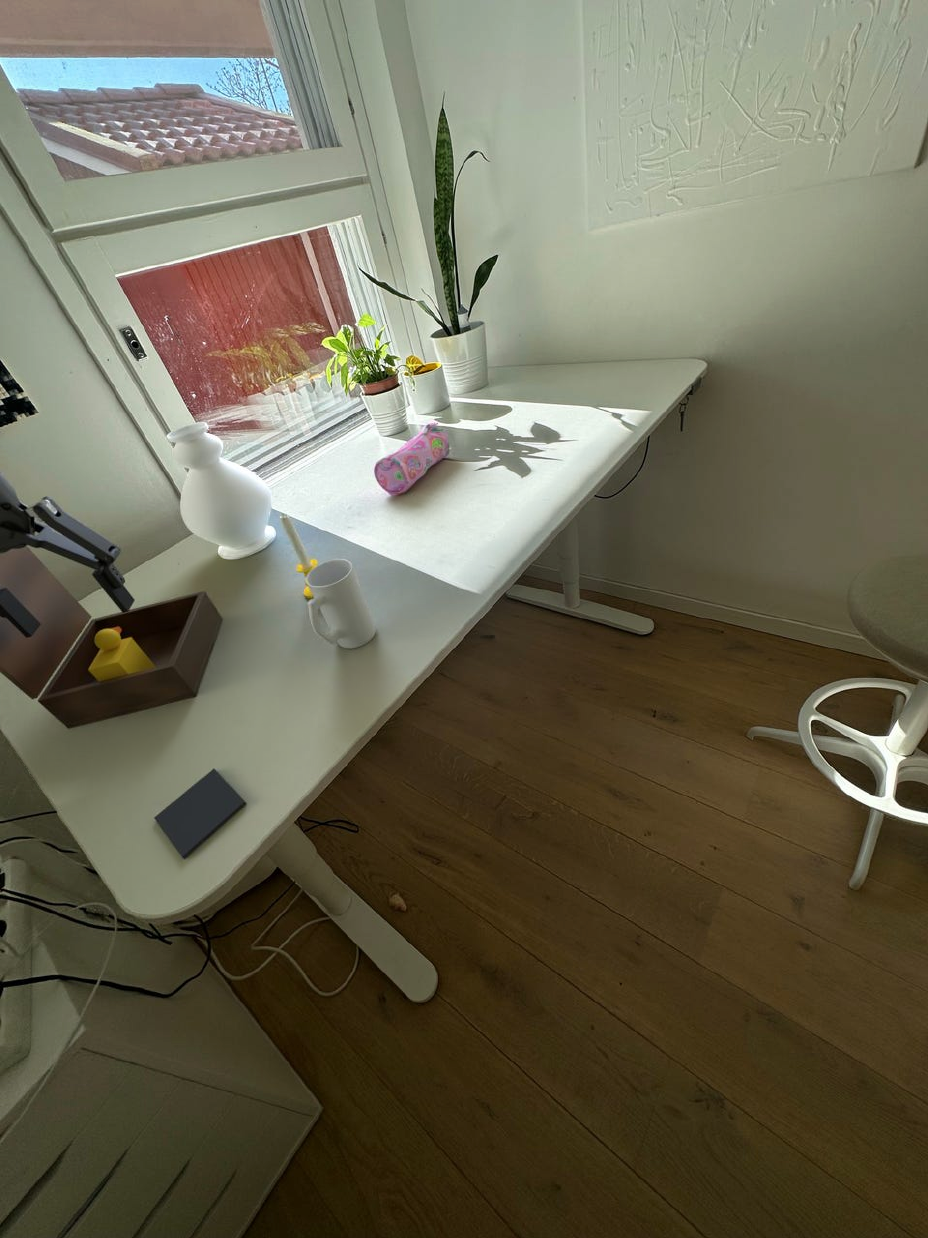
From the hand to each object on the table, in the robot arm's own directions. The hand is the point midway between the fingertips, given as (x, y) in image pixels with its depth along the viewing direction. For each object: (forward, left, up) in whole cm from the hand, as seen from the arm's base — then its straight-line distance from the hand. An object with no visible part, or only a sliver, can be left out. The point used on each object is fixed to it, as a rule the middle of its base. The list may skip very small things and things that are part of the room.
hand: (81, 618), depth 72 cm
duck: (0, 0, -14) cm, 14 cm away
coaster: (-4, -30, -15) cm, 33 cm away
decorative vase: (+34, +25, -15) cm, 45 cm away
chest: (+3, +3, -15) cm, 15 cm away
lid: (-5, +10, +3) cm, 11 cm away
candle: (+31, -6, -15) cm, 34 cm away
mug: (+25, -23, -15) cm, 37 cm away
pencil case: (+72, +9, -15) cm, 74 cm away
